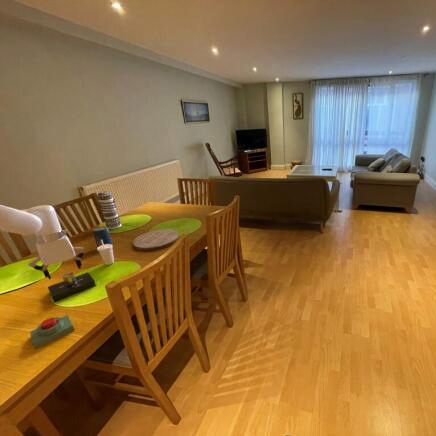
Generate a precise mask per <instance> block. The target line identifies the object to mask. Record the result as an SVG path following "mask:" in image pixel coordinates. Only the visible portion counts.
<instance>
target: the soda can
mask: <svg viewBox="0 0 436 436" xmlns="http://www.w3.org/2000/svg"><path fill="white" fill-rule="evenodd" d="M92 235H93V237H94V240H95V243H96V246H97V248H98V247H99V246H101V245H102V242H101V240H102V241H103V244H104V245H105V244H112V245H113V241H112V238H111V235H110V232H109V229H107V227H106V226H97V227H95V228H93V231H92Z"/></svg>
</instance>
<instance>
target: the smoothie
mask: <svg viewBox="0 0 436 436" xmlns="http://www.w3.org/2000/svg"><path fill="white" fill-rule="evenodd" d="M101 242H102V245H101V246H99V247H98V246H97V248H96V250H97V252H98V253H99V255H100V257H101V258H102V260H103V262H104V264H105V265H106V266H111V265H113V264H114V263H115V257H114V251H113V250H114V249H113V248H114V246H113V243H112V244H105V245H104V244H103V241H102V240H101ZM112 263H113V264H112ZM110 264H111V265H110Z"/></svg>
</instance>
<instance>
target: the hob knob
mask: <svg viewBox="0 0 436 436" xmlns="http://www.w3.org/2000/svg"><path fill="white" fill-rule="evenodd" d="M75 277H76V276H75V274H74V272H73V271H72V272H67V273H64V274H63V275H62V276H61V278H62V280H63V281H64V282H65V284H66V286H71V285H74V284H75V283H76V282H77V281H76V279H75Z"/></svg>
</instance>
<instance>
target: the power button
mask: <svg viewBox="0 0 436 436" xmlns="http://www.w3.org/2000/svg"><path fill="white" fill-rule="evenodd" d="M55 318H56V317H49V318H46V319H44V320H43V321H41V323H40V324H41V326H42V328H43V329H49V328H51V327H53V326H55V325H56V324H57V321H56V319H55Z"/></svg>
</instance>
